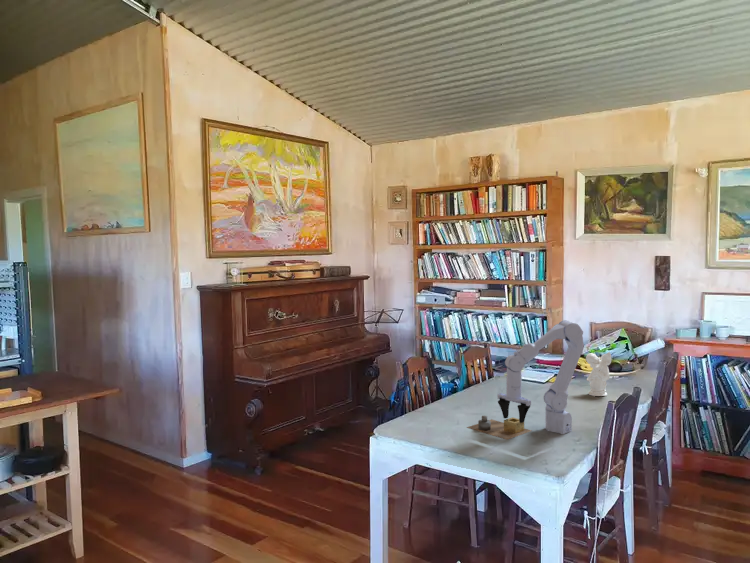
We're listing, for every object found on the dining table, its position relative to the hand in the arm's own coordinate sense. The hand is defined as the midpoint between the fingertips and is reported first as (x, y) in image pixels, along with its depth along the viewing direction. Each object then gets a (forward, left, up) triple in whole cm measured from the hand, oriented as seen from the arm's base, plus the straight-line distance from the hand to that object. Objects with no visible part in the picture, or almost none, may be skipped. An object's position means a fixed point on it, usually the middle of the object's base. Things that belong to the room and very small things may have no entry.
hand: (513, 420), depth 224 cm
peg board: (+5, +3, -5) cm, 8 cm away
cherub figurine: (+7, -80, -5) cm, 81 cm away
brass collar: (0, 0, -4) cm, 4 cm away
